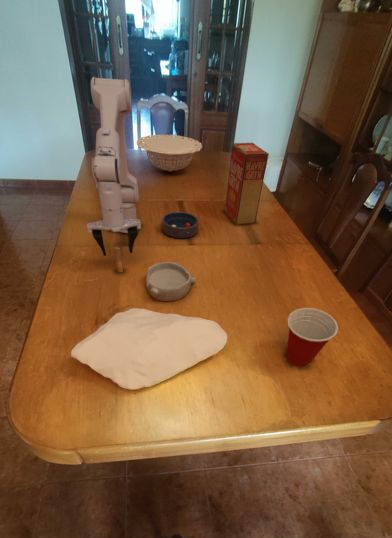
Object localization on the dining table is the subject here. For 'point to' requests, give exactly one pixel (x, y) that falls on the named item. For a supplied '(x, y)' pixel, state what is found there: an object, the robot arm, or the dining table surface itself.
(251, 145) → the food packaging
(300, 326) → the plastic cup
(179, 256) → the dining table surface
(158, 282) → the dish
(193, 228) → the bowl
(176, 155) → the woven basket
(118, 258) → the stick
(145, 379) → the crumpled cloth
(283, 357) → the dining table surface
